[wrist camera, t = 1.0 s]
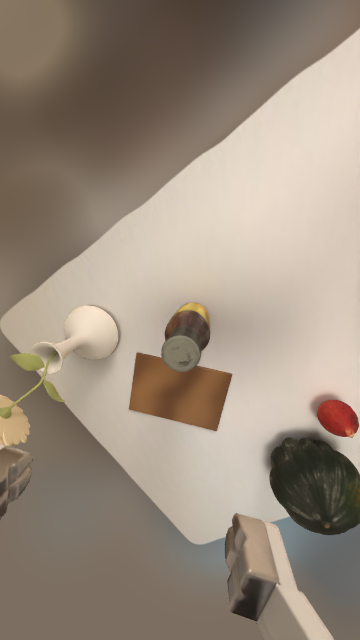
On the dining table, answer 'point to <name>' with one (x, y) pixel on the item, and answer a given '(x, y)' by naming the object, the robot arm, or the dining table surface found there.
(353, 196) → the dining table surface
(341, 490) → the squash
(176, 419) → the cork mat
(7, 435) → the flower in vase
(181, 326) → the sauce bottle
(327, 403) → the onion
